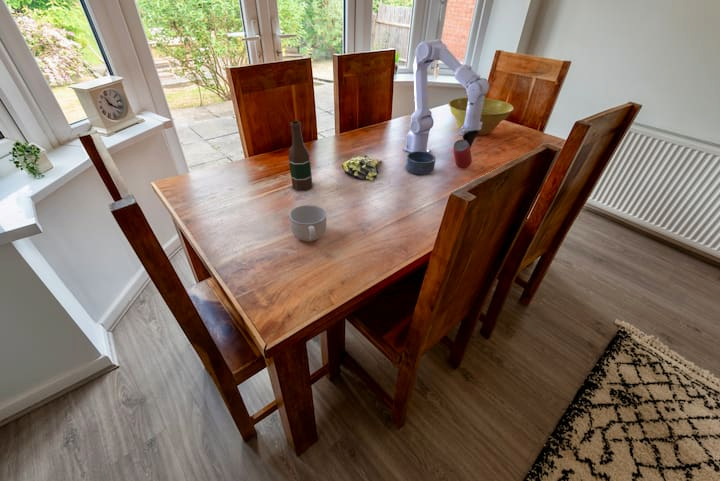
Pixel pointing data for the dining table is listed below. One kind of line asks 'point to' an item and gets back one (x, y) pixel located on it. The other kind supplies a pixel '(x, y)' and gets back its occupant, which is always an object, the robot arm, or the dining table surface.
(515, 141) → the dining table surface
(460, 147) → the beer can
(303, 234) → the teacup
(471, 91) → the robot arm
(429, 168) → the bowl
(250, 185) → the dining table surface
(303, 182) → the beer bottle
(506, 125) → the dining table surface
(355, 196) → the dining table surface
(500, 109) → the planter bowl
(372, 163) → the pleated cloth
